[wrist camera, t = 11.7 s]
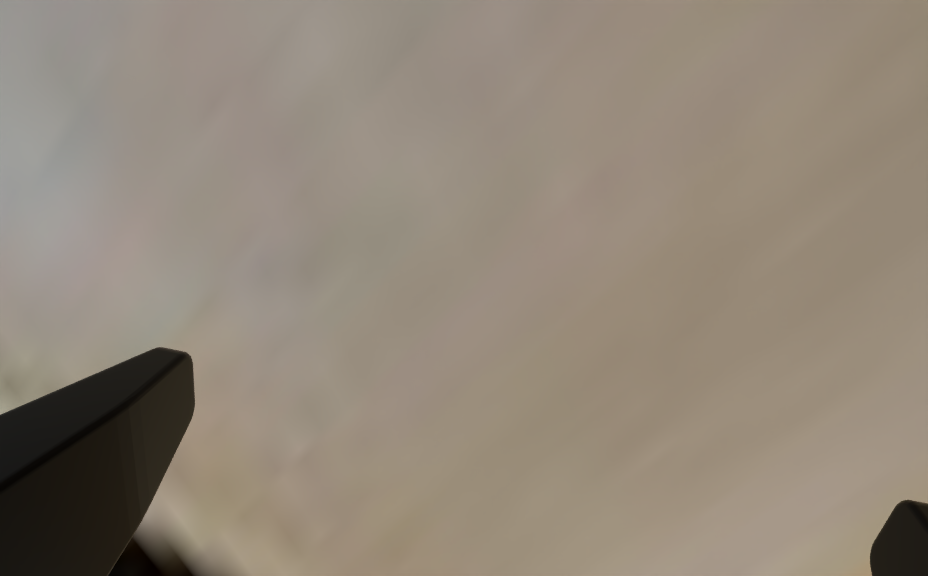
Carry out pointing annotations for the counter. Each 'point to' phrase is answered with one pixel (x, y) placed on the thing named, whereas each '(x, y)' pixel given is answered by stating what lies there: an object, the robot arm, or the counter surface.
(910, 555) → the robot arm
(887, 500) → the counter surface
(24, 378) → the counter surface
